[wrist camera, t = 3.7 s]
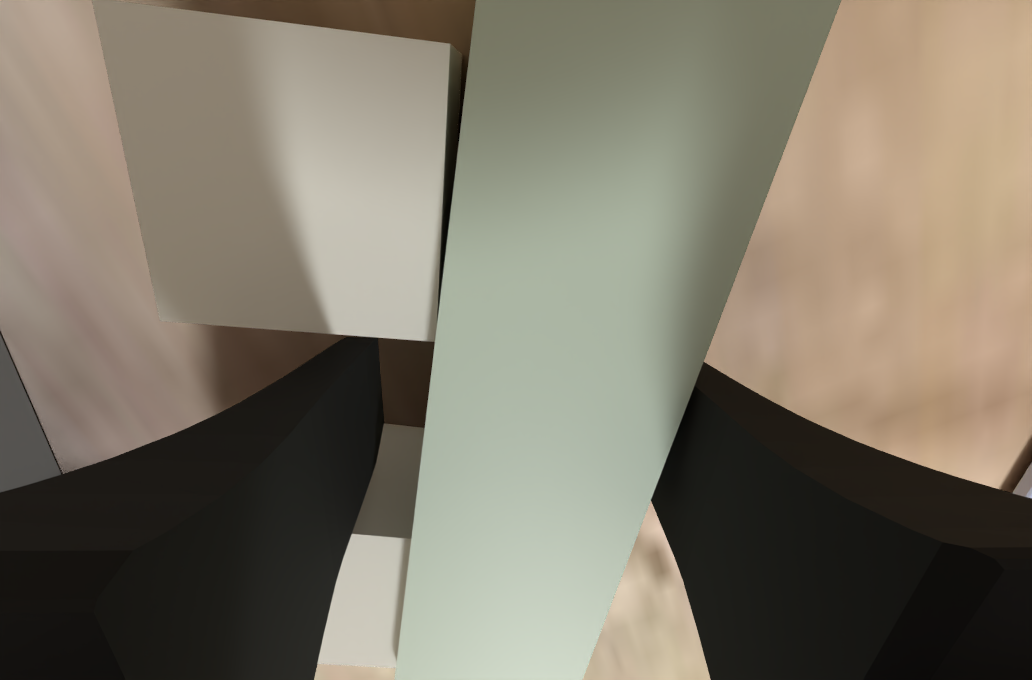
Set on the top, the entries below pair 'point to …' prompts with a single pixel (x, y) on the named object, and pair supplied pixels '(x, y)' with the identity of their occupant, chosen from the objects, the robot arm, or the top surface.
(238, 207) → the block
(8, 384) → the grey frame
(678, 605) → the top surface
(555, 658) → the sage green beam
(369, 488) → the block
